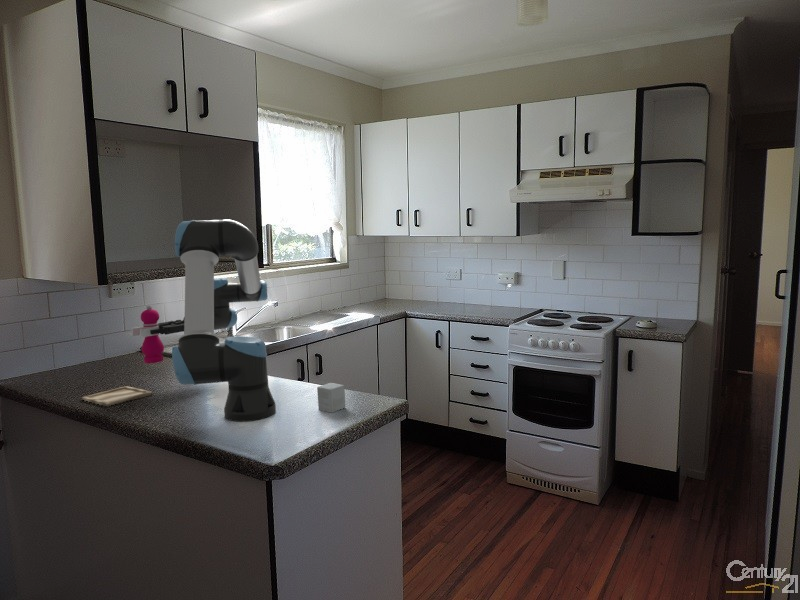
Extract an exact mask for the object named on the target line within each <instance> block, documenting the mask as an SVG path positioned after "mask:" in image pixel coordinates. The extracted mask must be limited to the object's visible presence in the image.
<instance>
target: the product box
mask: <svg viewBox="0 0 800 600" xmlns="http://www.w3.org/2000/svg"><path fill="white" fill-rule="evenodd" d="M316 390H317V391H316V392H317V405H318V410H319V411H322V410H323V411H322V412H328V413H331V412H333V413H335V411H336V412H338V411H340V409H341V410H344V409H346V408H345V407H346V390H345V384H339V383H333V382H328V383H325V384H323V385H319V386H317V388H316ZM343 408H344V409H343ZM337 410H338V411H337Z"/></svg>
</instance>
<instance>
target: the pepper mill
mask: <svg viewBox="0 0 800 600" xmlns="http://www.w3.org/2000/svg"><path fill="white" fill-rule="evenodd" d="M159 319H160V313H159V312H158V311H157V310H155V309H153V306H152V305H151V304H147V305H146V309H145V310H143V311H142V312H141V313H140V320H141V322H142V323H143V324H142V327H143V328H145V329H146V328H152V327H158V323H159V322H158V321H159ZM141 346H142V347H141V353H142V354H143V355H144V357H143V362H144V363H145V364H156V363H161V362H163V361H164V355H163V352H164V351H165V347H164V344H163V342H162V340H161V338H160V336H159V335H154V336H148V337H144V340H143V342H142V345H141Z"/></svg>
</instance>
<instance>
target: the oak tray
mask: <svg viewBox="0 0 800 600" xmlns="http://www.w3.org/2000/svg"><path fill="white" fill-rule="evenodd" d="M146 396H147V397H150V396H153V391H151V390H145V389H143V388H142V389H141V388H136V387H131V386H128V385H126V386H121V387H116V388H113V389H108V390H105V391H101V392H97V393H93V394H90V395H85V396H82V397H81V401H82V400H84V401H83V402H86V401H88V402H87V403H89V402H92V403H91V404H93V403H95V405H97V404H99V405H98V406H101V405H103V406H102V407H105V406H110V407H112V406H111V405H114V406H116V405H115V404H117V405H120V404H119V403H121V404H124V403H123V402H125V403H127V402H126V401H128V402H131V401H130V400H132V401H135V400H134V399H136V400H139V399H143V398H146ZM142 397H143V398H142ZM138 398H139V399H138Z"/></svg>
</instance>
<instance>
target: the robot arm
mask: <svg viewBox="0 0 800 600" xmlns="http://www.w3.org/2000/svg"><path fill="white" fill-rule="evenodd" d="M174 251H175V255H176V257H178V258H180V262H181V263H182V264H184V266H185V269H184V271H185V273H184V275H185V277H184V317H183V319H182V320H181V319H176V320H170V321H165V322H164V321H163V322H157V323H158V327H152V328H146V329H145V328H143V326H137V327H131V329H130V330H131V336H132V337H136V336H139V338H145V337H148V336H154V335H158V336H159V335H166V336H167V335H170V334H176V333H183V335H182V336H180V337H179V338H178V345H174V346H173V347H172V349H171V358H172V360H171V361H172V366H173V371H174V373H175V377H176V379H177V382H178V383H179V384H181V385H183V386H185V385H188V386H189V385H191V386H192V385H193V386H196V385H203V384H215V383H216V384H217V383H225V382H226V383H227V384H228V393H227V395H226V397H227V398H226V399H225V400H226V401H225V404H224V411H223V412H224V413H223V415H224V418H225V419H226V420H229V421H233V422H249V421H256V420H261V419H265V418H268V417H271V416H272V415H275V413H276V412H277V409H276V408H277V407H276V402H275V399H274V397H273V394H272V392H271V389H270V387H269V376H268V362H267V357H268V353H267V349H266V343H265V342H264V341H263V339H260V338H258V337H254V336H253V337H251V336H238V335H237V336H228V337H226V338H225V340H224V342H220V337H219V336H217V335H216V334H215V331H218V330H223V329H224V330H225V329H229V328H232V327H234V326H235V325H236V324H237V321H238V315H237V314H236V313H237V312H236V310H235V309H234V308H231V307H230V304H231V303H247V302H248V303H250V302H260V301H261V302H262V301H267V300H268V284H267V282H266V281H263V280H262V281H261V276H260V269H259V263H258V262H259V260H258V256H257V255H258V253H259V251H260V250H259V242H258V240H257V237H256V235H254V233H253V232H252V231H251V230H250V229H249V228H248V227H247V226H245V225H244V224H242V223H241V222H239V221H236V220H232V219H211V220H209V219H206V220H204V219H203V220H195V219H192V220H185V221H182V222H180V223H179V224H178V225H177V228H176V230H175V235H174ZM222 256H231V257H232V259H234V263H235V266H236V271H237V276H238V280H239V282H229V280H228V278H225V277H224V278H223V277H219V278H215V270H214V269H215V266H216V265H217V264H218V263H219V262H220V261H219V260H220V257H222Z"/></svg>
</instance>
